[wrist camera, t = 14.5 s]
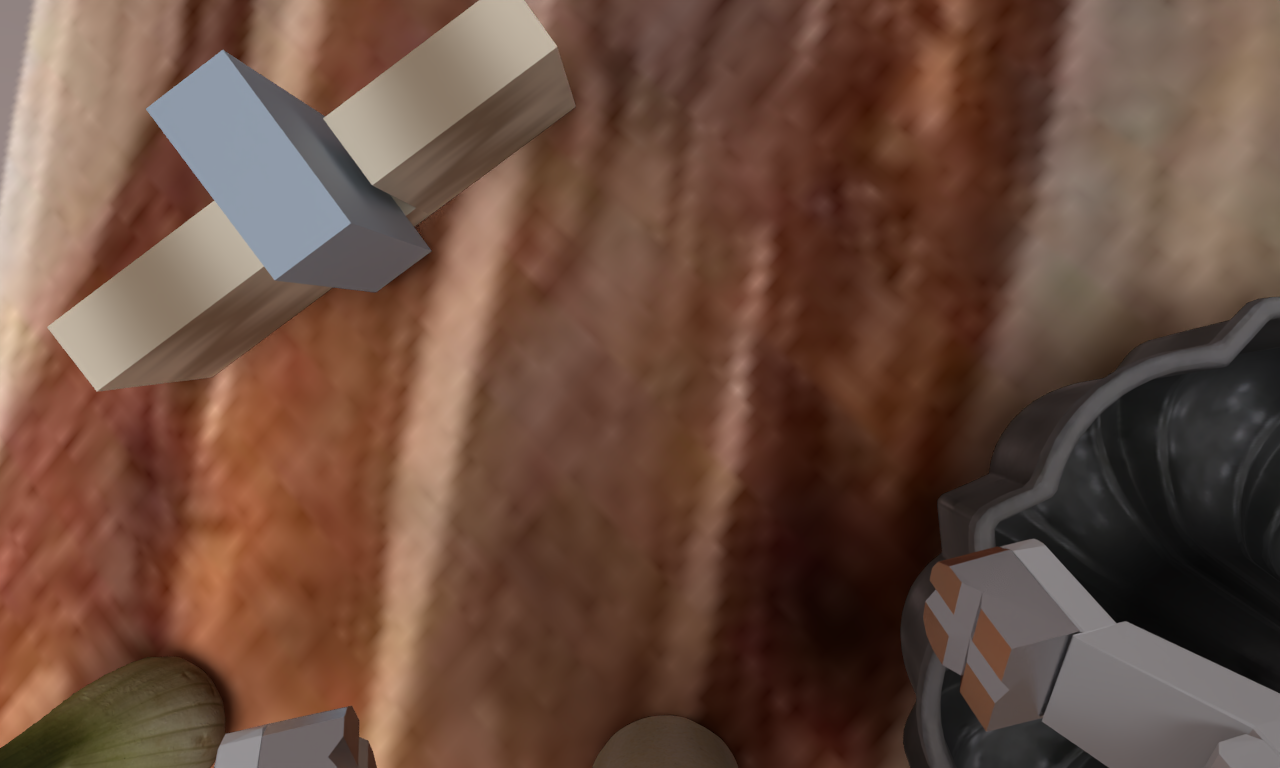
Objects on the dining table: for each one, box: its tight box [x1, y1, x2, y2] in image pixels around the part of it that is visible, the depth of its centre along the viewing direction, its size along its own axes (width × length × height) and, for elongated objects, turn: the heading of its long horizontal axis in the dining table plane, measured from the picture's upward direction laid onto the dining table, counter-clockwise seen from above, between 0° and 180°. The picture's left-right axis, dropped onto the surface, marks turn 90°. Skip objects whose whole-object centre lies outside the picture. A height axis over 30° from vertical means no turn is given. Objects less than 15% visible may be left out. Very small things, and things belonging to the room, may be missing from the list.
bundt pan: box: [900, 297, 1280, 768], centre depth 29 cm, size 26×26×10 cm
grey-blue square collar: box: [146, 50, 431, 292], centre depth 26 cm, size 6×3×8 cm, turn 36°
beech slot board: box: [48, 0, 576, 391], centre depth 29 cm, size 18×2×7 cm, turn 126°
